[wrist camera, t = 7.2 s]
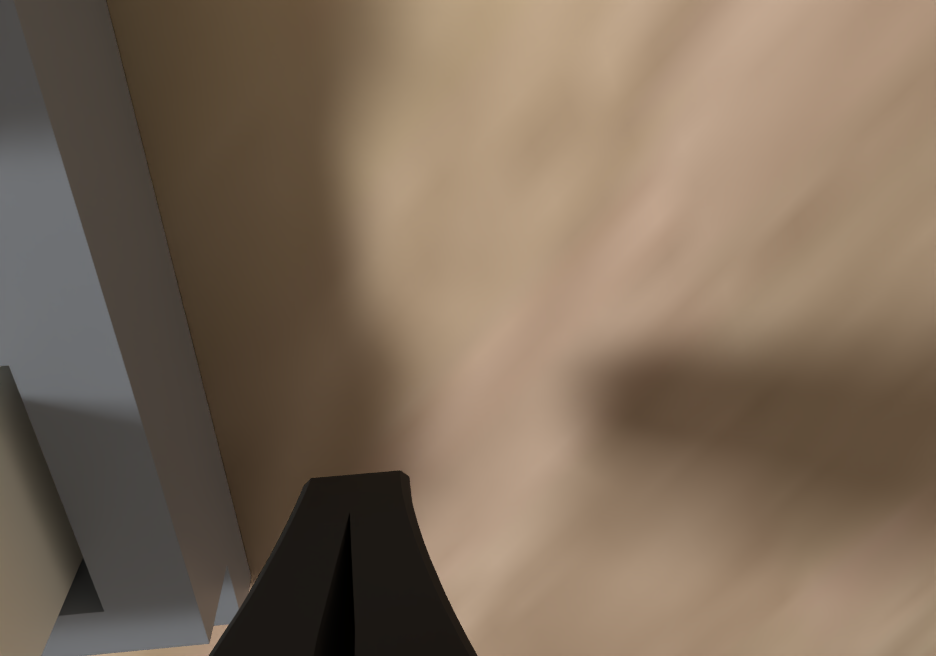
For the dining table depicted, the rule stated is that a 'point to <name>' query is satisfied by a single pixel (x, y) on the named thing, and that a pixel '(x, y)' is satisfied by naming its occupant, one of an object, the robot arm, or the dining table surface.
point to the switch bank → (106, 345)
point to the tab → (29, 533)
